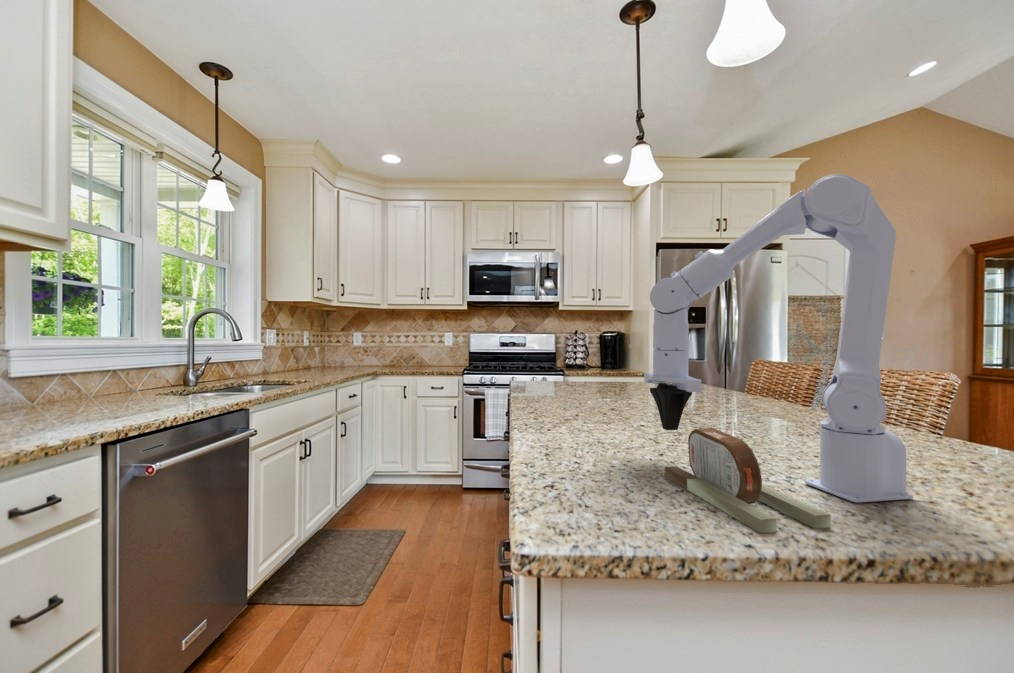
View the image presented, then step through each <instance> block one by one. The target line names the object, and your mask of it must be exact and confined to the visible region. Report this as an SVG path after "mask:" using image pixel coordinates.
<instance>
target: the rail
mask: <svg viewBox="0 0 1014 673" xmlns="http://www.w3.org/2000/svg"><path fill="white" fill-rule="evenodd" d="M664 477H665V478H667V479H668V480H671V481H672V482H673V483H675V484H677V485H678V486H681V487H682V488H684V489H685V490H687V491H689V492H690V493H692V494H694V495H695V496H697V497H698V498H701V499H702V500H704V502H707V503H709V504H710V505H712V506H714V507H716V508H717V509H719V510H721V511H722V512H723V513H725V514H727V515H729V516H731V517H732V518H734V519H736V520H738V521H739V522H741V523H743V524H744V525H746V526H748V527H749V528H751V529H753V530H755V531H756V532H758V533H759V534H767V533H768V534H769V533H770V534H771V533H777V518H776V517H774V516H773V515H771V514H769V513H767V512H765V511H763V510H761V509H759V508H758V507H755V506H753V505H752V504H748V503H746V502H744V501H742V500H740V499H738V498H736V497H735V496H733V495H731V494H729V493H727V492H725V491H723V490H721V489H719V488H717V487H715V486H713V485H712V484H710V483H708V482H706V481H704V480H702V479H700V478H698V477H696V476H695V475H694V474H693V473H690V472H689V471H688V470H684V469H683V468H682V467H681V468H680V467H679V466H677V465H676V466H674V465H673V466H664ZM757 501H758V502H761V503H763V504H764V505H766V504H767V506H769V507H770V506H771V508H772V507H773V508H772V509H775V510H776V509H777V511H778V510H779V511H778V512H780V511H781V513H782V514H785V515H786V516H788V517H791V518H793V519H794V520H797V521H799V522H801V523H803V524H805V525H807V526H809V527H811V528H813V529H814V530H817V529H830V528H831V526H832V525H831V523H832V522H831V520H832V519H831V515H832V514H830V513H829V512H826V511H824V510H821V509H819V508H817V507H815V506H812V505H810V504H808V503H805V502H803V501H801V500H799V499H796V498H795V497H792V496H790V495H787V494H785V493H783V492H781V491H778V490H776V489H774V488H771V487H769V486H767V485H765V484H763V483H762V489H761V494H760V497H759V499H758V500H757Z"/></svg>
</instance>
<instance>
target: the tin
mask: <svg viewBox="0 0 1014 673" xmlns="http://www.w3.org/2000/svg"><path fill="white" fill-rule="evenodd" d="M687 444H688V461H689V462H688V463H689V465H690V469H691V471H692V474H693V475H694V476H696V477H698V478H700V479H702V480H704V481H706V482H708V483H710V484H712V485H713V486H715V487H717V488H719V489H721V490H723V491H725V492H727V493H729V494H731V495H733V496H735V497H736V498H738V499H740V500H742V501H744V502H746V503H748V504H750V505H752V504H755V503H757V501H758V499H759V497H760V494H761V489H762V484H763V480H762V473H761V468H760V464H759V462H758V459H757V457H756V455H755V454H754V451H753V449H752V448H751V447H750V446H749V444H748V443H746V441H744V440H743V439H740V438H738V437H736V436H733V435H732V434H729V433H726V432H723V431H722V430H719V429H717V428H715V427H707V428H696V429H692V431H691V432H690V433H689V435H688V439H687Z"/></svg>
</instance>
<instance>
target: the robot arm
mask: <svg viewBox="0 0 1014 673" xmlns="http://www.w3.org/2000/svg"><path fill="white" fill-rule="evenodd" d="M874 196H875V195H874V194H873V192H872V188H871V187H870V186H868V185H867V184H865V183H863V182H861V181H860V180H859V179H857V178H854V177H853V176H851V175H848V174H842V173H833V174H828V175H826V176H823V177H821V178H819V179H818V180H816V181H814V182H813V183H812V184H811V185H810V187H808V189H807V191H806V188H804V189H802V190H800V191H798V192H796V193H795V194H794V195H792V196H791V197H789V198H788V199H787V200H785V201H784V202H783V203H782V204H781V205H779V206H777V207H776V208H775V209H773V211H771V212H770V213H769V214H767V215H766V216H764V217H763V218H762V219H760V220H759V221H758V222H757V223H755V224H754V225H753V226H751V227H750V228H749V229H748V230H746V231H745V232H744V233H742V234H741V235H740V236H738V237H736V239H734V240H733V241H731V242H730V243H729V244H728V245H727V246H725V247H724V248H722V249H708V250H707V251H705V252H703V251H699V252H698V253H696V254H694V258H695V259H694V260H693V261H691V262H690V263H688V264H687V265H686V266H684V267H682V269H680V270H678V271H676V270H675V271H673V272H671V273H670V277H664V278H663V277H662V278H661V279H659V280H658V281H657V283H655V284H654V285H653V287H652V288H651V291H650V293H649V300H650V304H651V305H652V307H653V308H654V309H653V324H652V329H653V330H652V331H653V332H652V337H653V339H652V349H653V352H652V357H653V358H652V359H653V361H652V372H645V373H644V383H646V384H654V385H657V386H656V387H649V393H650V394H651V395H652V397H653V400H654V402H655V404H656V407H657V411H658V415H659V418H660V422H661V427H662V429H663V430H666V431H678V430H679V426H680V423H681V422H680V421H681V419H682V415H683V412H684V410H685V407H686V404H687V403H688V401H689V399H690V398H691V396H692V394H693V393H701V392H702V379H699V378H695V377H692V376H690V375H689V366H690V365H689V364H690V362H689V354H690V353H689V346H690V343H689V342H690V341H689V337H690V333H689V332H690V331H689V329H690V328H689V326H690V324H689V321H688V318H689V317H688V316H689V309H690V307H691V306H692V304H693V301H694V300H695V301H698V300H700V299H701V298H703V297H704V296H705V295H707V294H709V293H710V292H712V291H713V290H715V289H716V288H717V287H719V286H721V285H722V284H723V283H725V282H726V281H729V280H730V279H731V278H732V276H733V272H734V268H735V266H736V265H738V264H740V263H741V262H743V261H744V260H746V259H747V258H749V257H751V256H752V255H754V254H755V253H756V252H758V251H761V249H763V248H765V247H766V246H768V245H770V244H772V243H773V242H774V241H776V240H777V239H780V238H781V237H783V236H791V235H792V236H793V235H794V236H795V235H804V234H805V233H806V228H807V229H808V230H810V231H812V232H813V233H816V234H819V235H822V236H824V237H825V236H826V237H829V238H831V239H833V240H835V241H836V242H838V243H839V244H840V245H841V246H842V247H844V248H845V249H847V250H848V252H849V258H848V265H847V267H848V268H847V273H846V282H845V290H844V296H843V303H842V311H841V318H840V319H841V320H840V327H839V334H838V342H837V349H836V358H835V362H834V364H833V370H832V377H831V379H830V382H829V383H828V384H827V385H826V387H824V389H823V391H822V394H821V403H822V406H823V408H824V409H825V411H826V412H827V417H826V418H825V419H824V420H821V421H820V422H819V425H820V426H819V475H820V476H819V478H818V479H805V480H804V483H805V485H808V486H811V487H813V488H816V489H819V490H821V491H823V492H826V493H828V494H830V495H831V494H832V495H834V496H836V497H839V498H842V499H844V500H847V501H848V502H849V501H850V502H852V503H857V504H858V503H868V502H869V503H870V502H882V501H883V502H884V501H897V500H913V499H914V495H913V494H910V493H907V451H906V447H905V445H904V443H903V442H904V441H902V439H901V438H900V437H899V436H898V435H897V434H896V433H894V432H893V431H891V430H888V429H886V427H885V426H884V425H882V424H881V423H883V421H884V420H885V418H886V416H887V411H888V408H887V404H886V401H885V399H884V397H883V394H882V391H881V383H882V377H881V374H882V373H881V368H880V359H881V350H882V345H883V343H882V342H883V336H884V329H885V322H886V313H887V307H888V297H889V292H890V284H891V277H892V269H893V263H894V262H893V261H894V255H895V254H894V252H895V247H896V240H897V233H896V229H895V226H894V225H893V224H892V222H891V221H890V220H889V218H888V217H887V215H886V214H885V212H884V211H883V210H882V208H881V206H880V205H879V204H878V202H877V200H876V199H875V197H874Z"/></svg>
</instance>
